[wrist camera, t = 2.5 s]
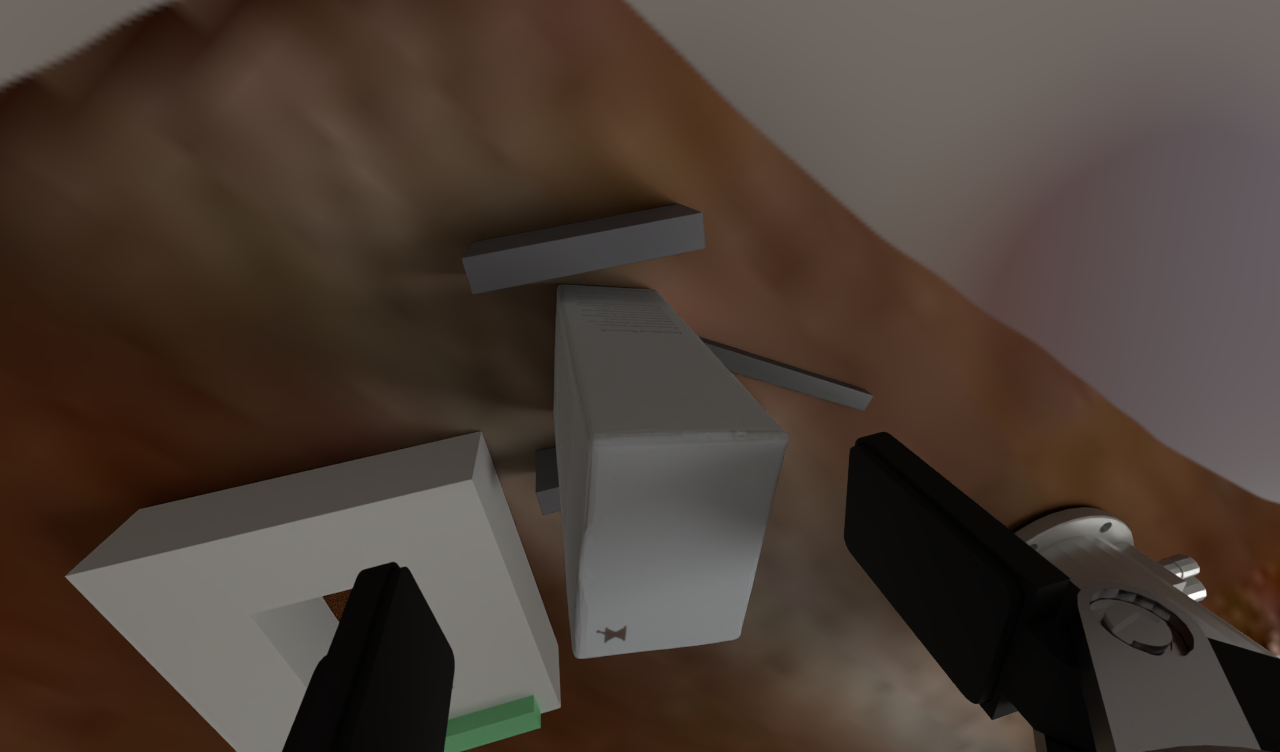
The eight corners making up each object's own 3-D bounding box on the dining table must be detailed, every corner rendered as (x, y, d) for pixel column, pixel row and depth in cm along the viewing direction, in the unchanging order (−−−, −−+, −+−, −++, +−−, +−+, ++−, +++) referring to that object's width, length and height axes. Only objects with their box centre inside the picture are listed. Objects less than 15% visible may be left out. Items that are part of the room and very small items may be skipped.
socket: (481, 430, 21) (469, 492, 17) (558, 645, 28) (561, 724, 24) (138, 509, 20) (43, 595, 16) (306, 716, 26) (267, 811, 23)
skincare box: (645, 411, 22) (742, 647, 12) (552, 412, 22) (566, 669, 11) (659, 283, 20) (799, 436, 9) (555, 278, 19) (579, 439, 8)
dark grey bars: (879, 165, 20) (933, 168, 17) (864, 402, 25) (903, 433, 22) (472, 242, 18) (461, 258, 15) (544, 480, 23) (545, 523, 20)
